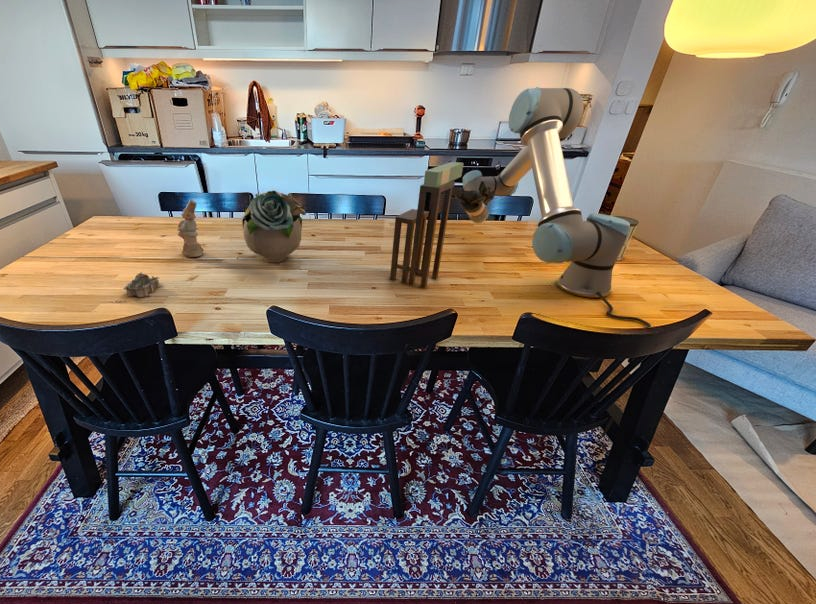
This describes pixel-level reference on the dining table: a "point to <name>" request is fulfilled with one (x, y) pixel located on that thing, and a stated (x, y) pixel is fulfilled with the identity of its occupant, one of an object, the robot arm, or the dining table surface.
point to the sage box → (443, 174)
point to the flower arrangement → (273, 225)
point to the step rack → (421, 236)
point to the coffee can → (633, 225)
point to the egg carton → (142, 285)
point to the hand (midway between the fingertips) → (461, 182)
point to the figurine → (189, 231)
